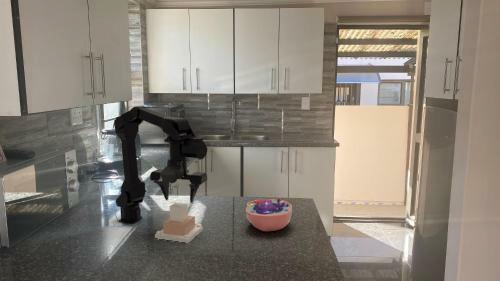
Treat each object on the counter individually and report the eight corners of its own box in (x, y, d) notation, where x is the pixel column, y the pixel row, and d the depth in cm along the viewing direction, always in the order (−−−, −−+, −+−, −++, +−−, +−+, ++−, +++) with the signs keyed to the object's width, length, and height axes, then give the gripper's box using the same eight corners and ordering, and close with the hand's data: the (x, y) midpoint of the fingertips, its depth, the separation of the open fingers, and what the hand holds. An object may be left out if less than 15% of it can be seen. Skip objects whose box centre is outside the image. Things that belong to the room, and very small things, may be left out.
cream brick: (170, 220, 125) (169, 206, 125) (176, 216, 130) (175, 202, 129) (182, 222, 124) (181, 207, 124) (187, 217, 129) (187, 203, 128)
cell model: (299, 222, 140) (300, 193, 138) (281, 242, 122) (281, 209, 120) (258, 215, 147) (258, 188, 145) (235, 233, 129) (235, 202, 127)
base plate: (155, 238, 124) (154, 223, 123) (172, 226, 135) (171, 211, 134) (187, 243, 120) (187, 227, 120) (202, 229, 132) (202, 215, 131)
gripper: (140, 158, 119) (141, 205, 121) (193, 162, 114) (194, 211, 116) (157, 153, 129) (159, 196, 132) (207, 156, 124) (208, 201, 127)
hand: (179, 201), depth 126 cm, fingers open, 9 cm apart
